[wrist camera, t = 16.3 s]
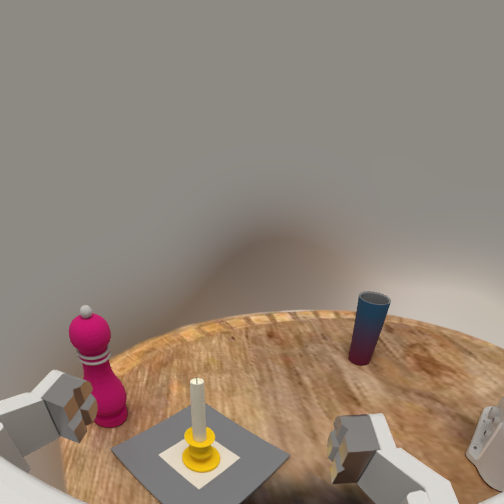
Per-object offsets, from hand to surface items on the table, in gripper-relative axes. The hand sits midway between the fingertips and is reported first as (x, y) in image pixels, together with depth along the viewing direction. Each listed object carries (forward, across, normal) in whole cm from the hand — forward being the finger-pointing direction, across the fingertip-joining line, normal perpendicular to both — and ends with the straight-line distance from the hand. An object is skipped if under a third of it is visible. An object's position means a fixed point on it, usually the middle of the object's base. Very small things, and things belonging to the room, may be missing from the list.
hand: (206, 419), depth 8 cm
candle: (+18, +4, +29) cm, 35 cm away
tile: (+18, +5, +30) cm, 35 cm away
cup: (+48, -24, +30) cm, 62 cm away
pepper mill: (+24, +21, +30) cm, 44 cm away
